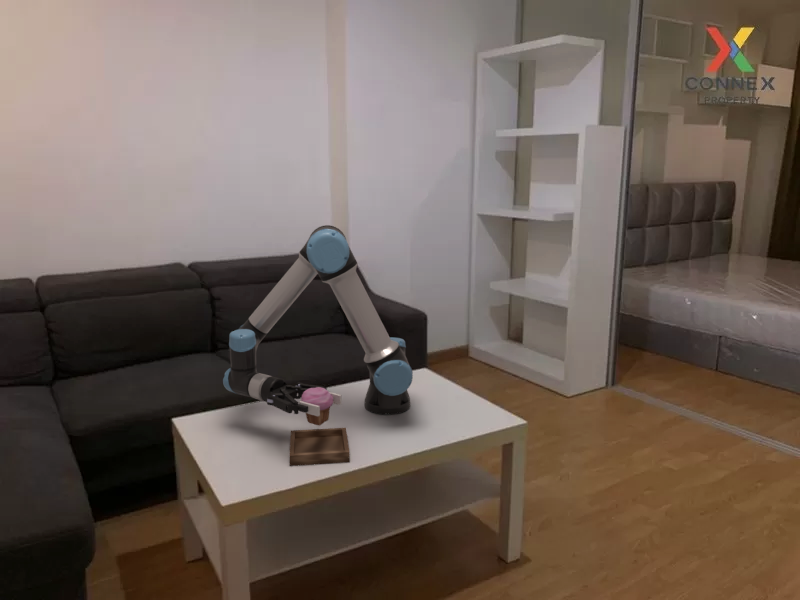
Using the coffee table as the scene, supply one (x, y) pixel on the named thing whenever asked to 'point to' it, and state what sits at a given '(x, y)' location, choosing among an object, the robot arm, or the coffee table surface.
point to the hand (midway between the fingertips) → (330, 405)
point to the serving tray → (319, 446)
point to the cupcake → (318, 404)
